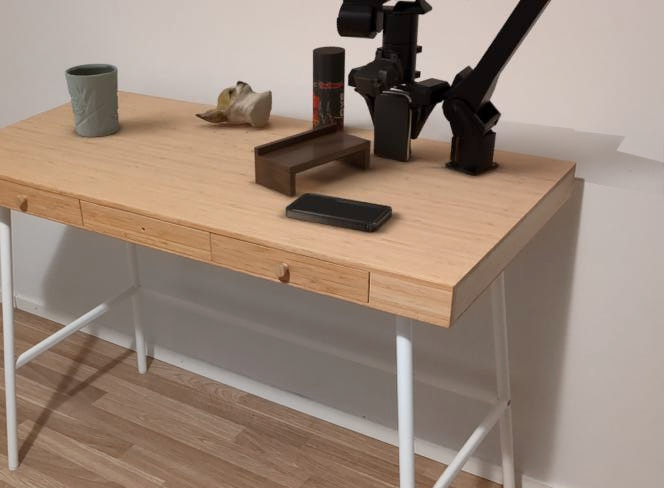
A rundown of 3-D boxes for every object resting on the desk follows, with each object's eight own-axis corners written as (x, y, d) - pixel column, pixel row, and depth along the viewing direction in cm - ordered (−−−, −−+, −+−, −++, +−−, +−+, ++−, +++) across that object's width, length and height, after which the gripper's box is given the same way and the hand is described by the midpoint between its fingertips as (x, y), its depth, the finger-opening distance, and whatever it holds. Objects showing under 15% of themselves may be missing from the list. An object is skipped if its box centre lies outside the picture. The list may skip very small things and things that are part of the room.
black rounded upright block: (417, 156, 157) (421, 91, 151) (406, 163, 155) (409, 96, 149) (382, 149, 161) (385, 85, 155) (371, 156, 159) (373, 91, 153)
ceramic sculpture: (256, 89, 167) (190, 86, 174) (259, 135, 171) (195, 130, 179) (284, 75, 174) (219, 73, 182) (286, 120, 179) (223, 116, 186)
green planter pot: (63, 134, 179) (54, 73, 173) (94, 120, 186) (87, 60, 180) (103, 140, 174) (95, 78, 168) (134, 125, 181) (127, 65, 175)
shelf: (369, 169, 153) (371, 133, 150) (290, 197, 144) (289, 160, 141) (333, 156, 159) (333, 122, 156) (255, 183, 151) (253, 147, 147)
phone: (374, 225, 130) (282, 209, 137) (373, 233, 131) (283, 215, 138) (394, 206, 136) (306, 191, 143) (394, 213, 136) (306, 198, 143)
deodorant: (342, 135, 169) (343, 54, 161) (310, 135, 170) (310, 54, 162) (345, 126, 174) (346, 46, 166) (314, 125, 175) (314, 46, 167)
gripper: (324, 41, 150) (324, 132, 158) (408, 59, 137) (403, 157, 145) (372, 29, 156) (369, 118, 164) (456, 45, 143) (449, 141, 151)
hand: (395, 133), depth 156 cm, fingers open, 8 cm apart
